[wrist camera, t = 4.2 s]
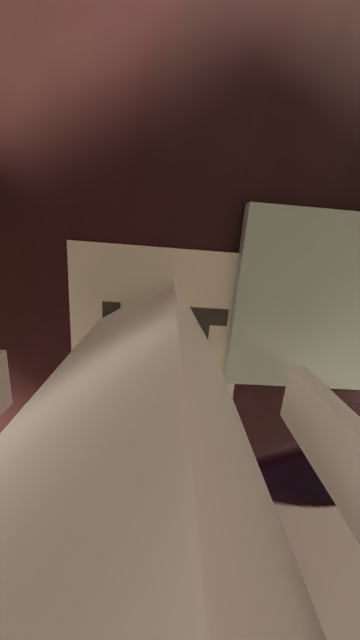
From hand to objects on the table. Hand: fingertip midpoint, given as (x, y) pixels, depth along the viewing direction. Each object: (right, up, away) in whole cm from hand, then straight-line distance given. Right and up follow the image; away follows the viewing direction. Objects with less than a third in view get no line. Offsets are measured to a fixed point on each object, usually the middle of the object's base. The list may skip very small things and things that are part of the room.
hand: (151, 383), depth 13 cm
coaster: (+11, +4, +6) cm, 13 cm away
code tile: (0, +2, +6) cm, 7 cm away
